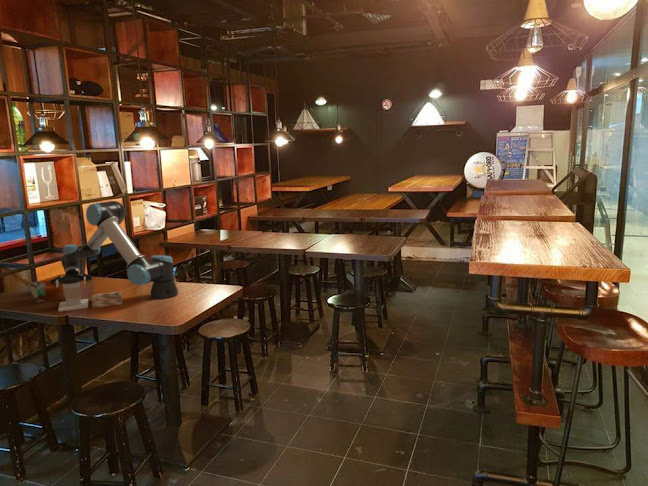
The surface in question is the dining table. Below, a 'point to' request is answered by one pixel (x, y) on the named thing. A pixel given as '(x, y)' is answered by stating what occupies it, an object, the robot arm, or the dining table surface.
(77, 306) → the grey mat
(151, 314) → the dining table surface
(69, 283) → the coffee cup
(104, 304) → the cup holder
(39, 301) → the food container
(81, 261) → the plant pot
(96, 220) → the robot arm
